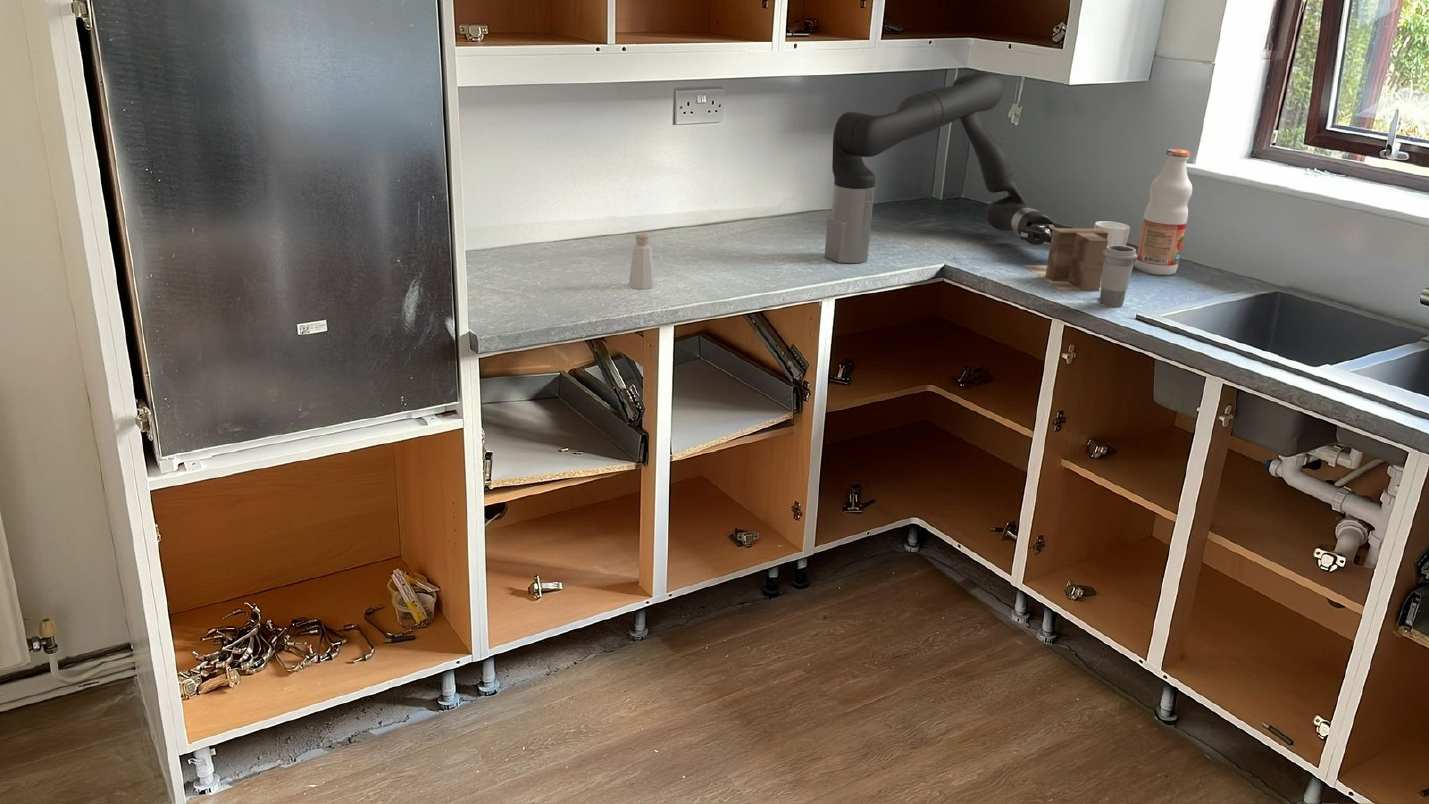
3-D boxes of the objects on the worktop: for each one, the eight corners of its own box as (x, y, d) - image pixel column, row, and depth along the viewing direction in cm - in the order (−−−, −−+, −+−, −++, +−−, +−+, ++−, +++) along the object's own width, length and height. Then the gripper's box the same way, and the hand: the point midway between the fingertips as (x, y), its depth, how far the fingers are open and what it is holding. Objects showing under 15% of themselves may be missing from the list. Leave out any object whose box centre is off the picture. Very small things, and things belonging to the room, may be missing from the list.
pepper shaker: (639, 280, 232) (640, 229, 228) (659, 285, 230) (661, 234, 225) (623, 286, 228) (623, 234, 224) (643, 291, 225) (644, 238, 221)
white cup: (1125, 265, 262) (1133, 224, 258) (1118, 272, 256) (1126, 230, 252) (1091, 260, 266) (1099, 219, 262) (1084, 267, 259) (1091, 225, 256)
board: (1022, 268, 256) (1023, 265, 255) (1075, 268, 257) (1076, 265, 257) (1060, 294, 236) (1061, 290, 236) (1117, 294, 238) (1117, 290, 238)
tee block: (1045, 276, 247) (1053, 228, 242) (1091, 276, 248) (1099, 228, 244) (1066, 290, 236) (1074, 240, 232) (1114, 290, 238) (1123, 240, 234)
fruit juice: (1127, 264, 263) (1149, 146, 252) (1165, 265, 264) (1188, 147, 253) (1144, 275, 254) (1168, 153, 244) (1183, 276, 255) (1208, 154, 244)
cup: (1102, 297, 235) (1112, 242, 231) (1132, 304, 231) (1143, 248, 227) (1088, 303, 230) (1098, 247, 226) (1119, 310, 226) (1130, 254, 222)
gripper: (1008, 210, 264) (1036, 226, 248) (1060, 210, 265) (1091, 227, 249) (1003, 240, 267) (1031, 259, 251) (1055, 241, 268) (1086, 259, 252)
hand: (1061, 243), depth 250 cm, fingers closed
